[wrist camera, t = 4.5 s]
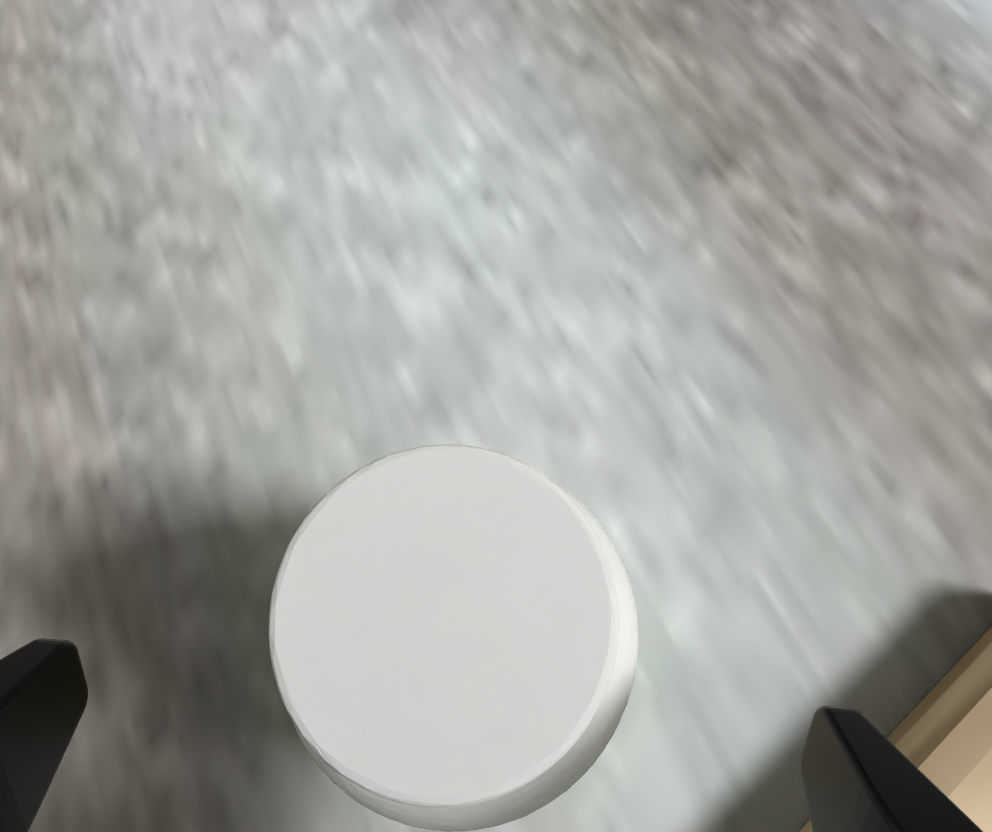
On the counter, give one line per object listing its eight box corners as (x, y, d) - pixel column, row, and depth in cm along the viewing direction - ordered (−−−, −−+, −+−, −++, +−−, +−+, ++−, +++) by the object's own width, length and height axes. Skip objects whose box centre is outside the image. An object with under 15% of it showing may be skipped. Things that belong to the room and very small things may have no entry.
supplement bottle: (312, 634, 18) (104, 590, 8) (485, 485, 19) (467, 304, 10) (461, 827, 16) (407, 1024, 7) (638, 654, 17) (787, 633, 8)
